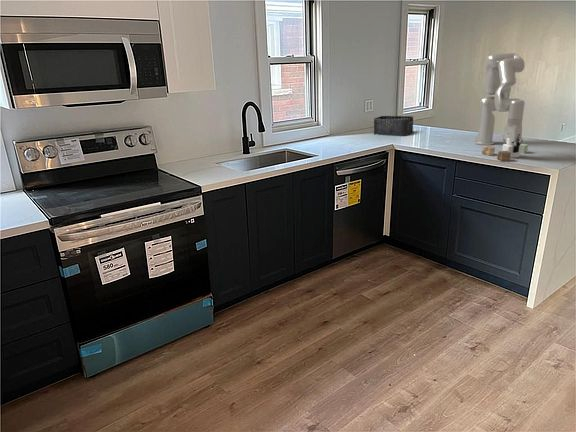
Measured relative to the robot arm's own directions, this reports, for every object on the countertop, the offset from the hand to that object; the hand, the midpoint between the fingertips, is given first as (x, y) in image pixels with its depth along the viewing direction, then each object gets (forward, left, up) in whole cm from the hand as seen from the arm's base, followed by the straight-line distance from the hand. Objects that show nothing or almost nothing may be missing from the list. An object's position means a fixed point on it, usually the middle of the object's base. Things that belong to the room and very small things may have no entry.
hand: (510, 150), depth 254 cm
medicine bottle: (0, 0, -4) cm, 4 cm away
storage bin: (-107, -29, -4) cm, 110 cm away
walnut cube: (+6, -9, -4) cm, 11 cm away
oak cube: (-10, -8, -4) cm, 13 cm away
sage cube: (-7, +13, -4) cm, 15 cm away
